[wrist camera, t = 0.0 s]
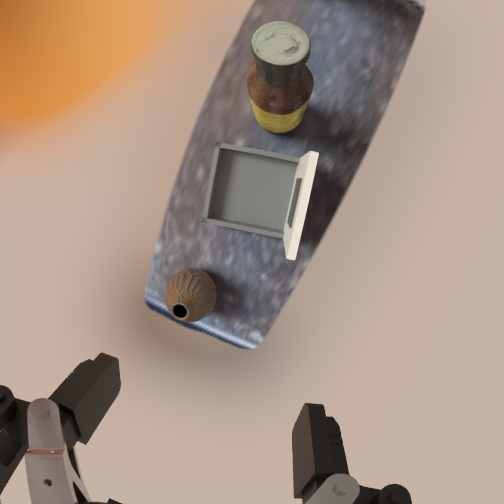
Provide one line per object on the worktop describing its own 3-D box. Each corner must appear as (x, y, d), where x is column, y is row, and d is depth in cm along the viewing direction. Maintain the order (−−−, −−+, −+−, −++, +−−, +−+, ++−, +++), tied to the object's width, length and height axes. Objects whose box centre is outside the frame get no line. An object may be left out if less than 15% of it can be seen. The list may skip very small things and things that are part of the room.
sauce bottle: (305, 132, 34) (339, 86, 15) (258, 138, 35) (243, 94, 16) (297, 87, 33) (319, 10, 14) (251, 93, 34) (230, 17, 14)
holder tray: (220, 144, 36) (197, 130, 24) (303, 161, 35) (318, 152, 24) (206, 218, 38) (179, 236, 27) (287, 235, 38) (294, 260, 26)
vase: (198, 314, 42) (183, 345, 34) (166, 283, 41) (143, 307, 33) (230, 287, 41) (220, 315, 32) (196, 253, 40) (177, 273, 31)
